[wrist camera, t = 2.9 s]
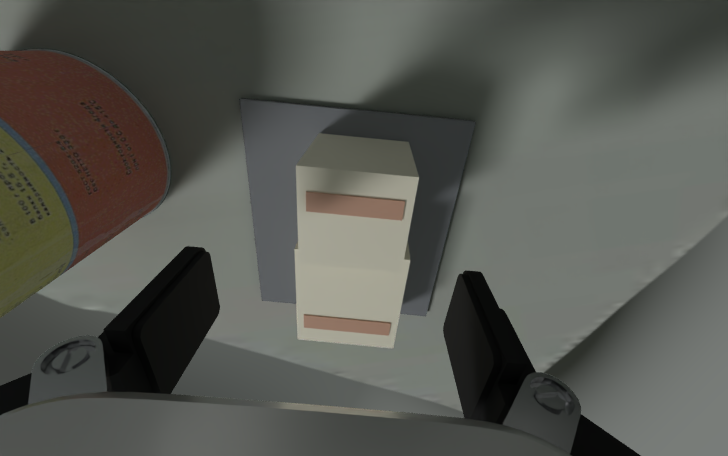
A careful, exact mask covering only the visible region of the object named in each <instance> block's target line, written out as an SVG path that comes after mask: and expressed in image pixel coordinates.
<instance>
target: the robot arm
mask: <svg viewBox="0 0 728 456" xmlns="http://www.w3.org/2000/svg"><path fill="white" fill-rule="evenodd" d="M219 310H220V305H219V299H218V294H217V289H216V283H215V278H214V273H213V268H212V262H211V257H210V254H209V252H206V251H205V249H204V248H201V247H189V246H188V247H185V248H184V249H183V250H182V251H181V252H180V253H179V254H178V255H177V256H176V257H175V258H174V259H173V260H172V261H171V262H170V263H169V264H168V265H167V266H166V267H165V268H164V269H163V270H162V271H161V272H160V273H159V274H158V275H157V276H156V277H155V278H154V279H153V280H152V281H151V282H150V283H149V284H148V285H147V286H146V287H145V288H144V289H143V290H142V291H141V292H140V293H139V294H138V295H137V296H136V297H135V298H134V299H133V300H132V301H131V302H130V303H129V304H128V305H127V306H126V307H125V308H124V309H123V310H122V311H121V312H120V313H119V314H118V315H117V316H116V318H114V319H113V320H112V321H111V322H110V323H109V324H108V325H107V326H106V328H104V332H103V333H102V334H101V335H100V336H99V337H98V338H97V337H96V336H89V335H86V336H78V337H74V338H70V339H68V340H65V341H63V342H60V343H58V344H56V345H55V346H53V347H51V348H50V349H48V350H47V351H46V352H44V353H43V354H42V355H41V356H40V357H39V358H38V359H37V361H36V362H35V364H34V366H33V369H32V373H31V374H28V375H26V376H23V377H21V378H18V379H16V380H13V381H11V382H9V383H6V384H4V385H1V386H0V456H640V455H639V454H637V453H636V452H635V451H633V450H632V449H630V448H629V447H627V446H626V445H625V444H623V443H622V442H620V441H619V440H617V439H616V438H614V437H613V436H612V435H610V434H609V433H607V432H606V431H604V430H603V429H602V428H600V427H599V426H597V425H596V424H594V423H593V422H591V421H590V420H589V419H587V418H586V417H584V416H583V415H581V406H580V403H579V400H578V398H577V397H576V395H575V394H574V392H573V391H572V390H571V389H570V388H569V387H568V386H567V385H566V384H565V383H563V382H562V381H560V380H559V379H558V378H555V377H553V376H551V375H549V374H545V373H542V372H536V371H535V369H534V367H533V365H532V364H531V362H530V360H529V358H528V356H527V354H526V352H525V350H524V348H523V346H522V344H521V342H520V340H519V338H518V336H517V334H516V332H515V330H514V328H513V326H512V324H511V322H510V320H509V319H508V317H507V315H506V313H505V311H504V310H502V309H500V308H499V306H498V304H497V302H496V300H495V298H494V296H493V294H492V292H491V290H490V288H489V286H488V284H487V282H486V280H485V278H484V276H483V274H482V273H481V272H477V271H464V273H463V274H459V275H458V278H457V281H456V285H455V288H454V292H453V295H452V299H451V302H450V305H449V309H448V312H447V316H446V319H445V323H444V328H443V332H444V337H445V341H446V345H447V349H448V354H449V358H450V362H451V366H452V370H453V374H454V378H455V382H456V386H457V390H458V394H459V398H460V402H461V406H462V410H463V414H464V417H465V418H456V417H447V416H437V415H426V414H415V413H405V412H393V411H382V410H369V409H357V408H346V407H333V406H322V405H308V404H297V403H284V402H270V401H258V400H245V399H232V398H218V397H205V396H190V395H176V394H171V392H172V390H173V389H174V387H175V386H176V384H177V382H178V381H179V379H180V377H181V376H182V374H183V372H184V371H185V369H186V367H187V366H188V364H189V363H190V361H191V359H192V357H193V356H194V354H195V352H196V351H197V349H198V348H199V346H200V344H201V342H202V341H203V339H204V338H205V336H206V334H207V333H208V331H209V329H210V328H211V326H212V324H213V323H214V321H215V319H216V318H217V316H218V314H219Z"/></svg>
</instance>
